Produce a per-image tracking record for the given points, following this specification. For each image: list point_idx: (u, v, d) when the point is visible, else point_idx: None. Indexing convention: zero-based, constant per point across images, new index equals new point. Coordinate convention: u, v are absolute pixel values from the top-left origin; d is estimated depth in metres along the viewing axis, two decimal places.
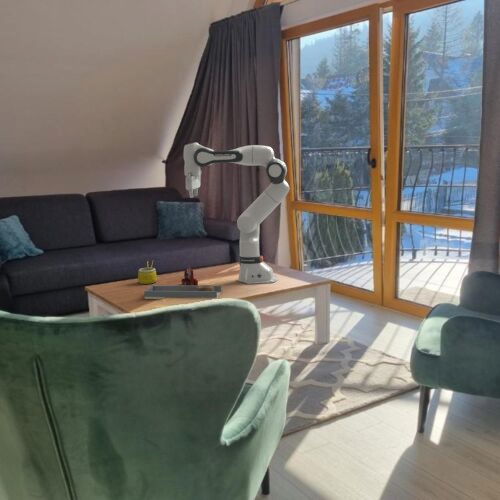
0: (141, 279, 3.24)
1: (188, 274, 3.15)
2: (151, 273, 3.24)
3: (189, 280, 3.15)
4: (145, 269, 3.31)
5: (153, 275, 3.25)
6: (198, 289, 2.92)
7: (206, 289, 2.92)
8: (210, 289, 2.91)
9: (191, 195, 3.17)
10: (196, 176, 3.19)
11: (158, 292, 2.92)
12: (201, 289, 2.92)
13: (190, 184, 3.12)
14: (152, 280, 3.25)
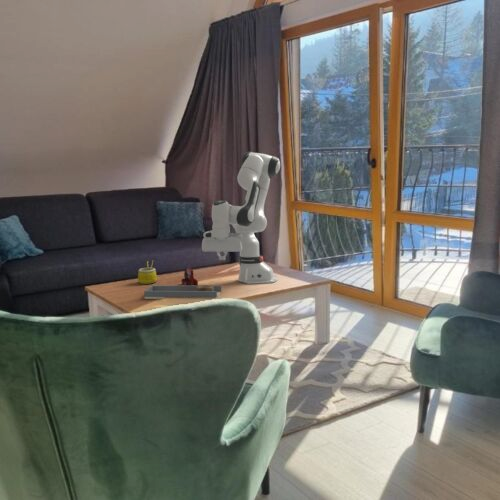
0: (141, 279, 3.24)
1: (188, 274, 3.15)
2: (151, 273, 3.24)
3: (189, 280, 3.15)
4: (145, 269, 3.31)
5: (153, 275, 3.25)
6: (198, 289, 2.92)
7: (206, 289, 2.92)
8: (210, 289, 2.91)
9: None
10: None
11: (158, 292, 2.92)
12: (201, 289, 2.92)
13: (241, 244, 2.89)
14: (152, 280, 3.25)
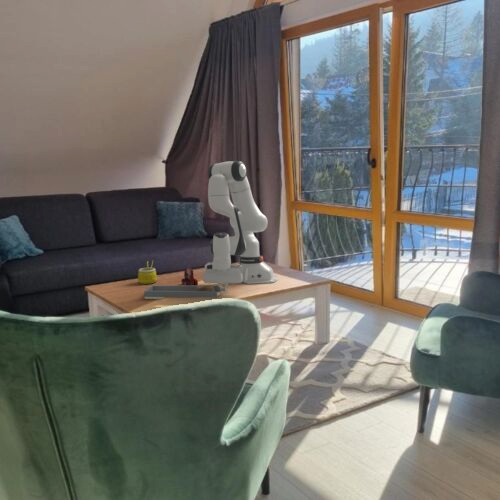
0: (141, 279, 3.24)
1: (188, 274, 3.15)
2: (151, 273, 3.24)
3: (189, 280, 3.15)
4: (145, 269, 3.31)
5: (153, 275, 3.25)
6: (198, 289, 2.92)
7: (206, 289, 2.92)
8: (210, 289, 2.91)
9: None
10: None
11: (158, 292, 2.92)
12: (201, 289, 2.92)
13: (242, 276, 2.92)
14: (152, 280, 3.25)
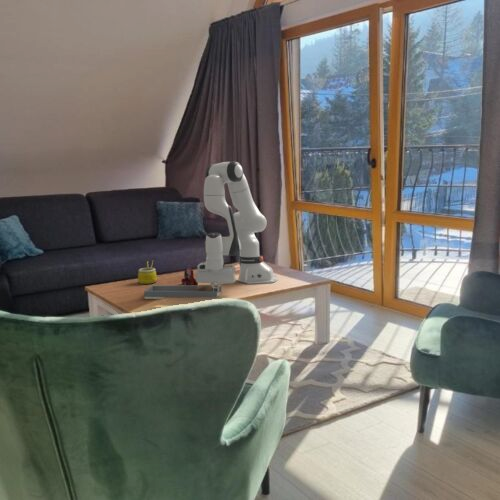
0: (141, 279, 3.24)
1: (188, 274, 3.15)
2: (151, 273, 3.24)
3: (189, 280, 3.15)
4: (145, 269, 3.31)
5: (153, 275, 3.25)
6: (198, 289, 2.92)
7: (206, 289, 2.92)
8: (210, 289, 2.91)
9: (218, 288, 2.94)
10: None
11: (158, 292, 2.92)
12: (201, 289, 2.92)
13: None
14: (152, 280, 3.25)
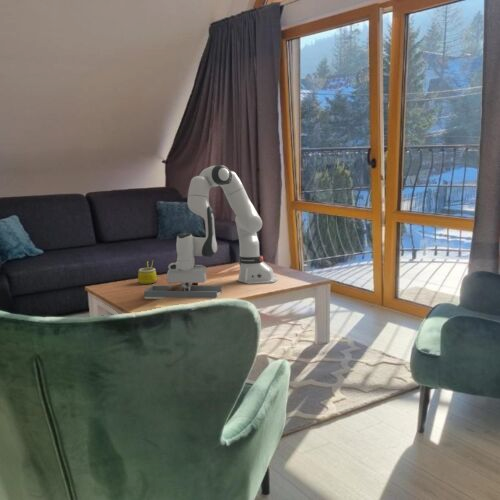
0: (141, 279, 3.24)
1: None
2: (151, 273, 3.24)
3: None
4: (145, 269, 3.31)
5: (153, 275, 3.25)
6: (169, 289, 2.94)
7: (177, 289, 2.94)
8: (181, 289, 2.94)
9: None
10: None
11: (158, 292, 2.92)
12: (172, 289, 2.94)
13: (205, 275, 2.95)
14: (152, 280, 3.25)
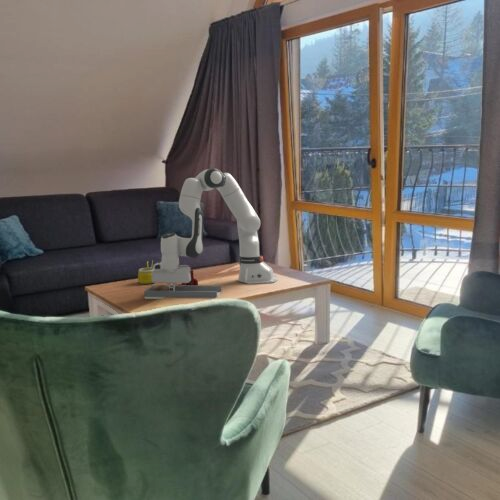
0: (141, 279, 3.24)
1: None
2: (151, 273, 3.24)
3: None
4: (145, 269, 3.31)
5: None
6: (154, 289, 2.96)
7: (161, 289, 2.95)
8: (165, 289, 2.95)
9: (174, 288, 2.97)
10: None
11: (158, 292, 2.92)
12: (157, 289, 2.96)
13: (190, 276, 2.96)
14: None
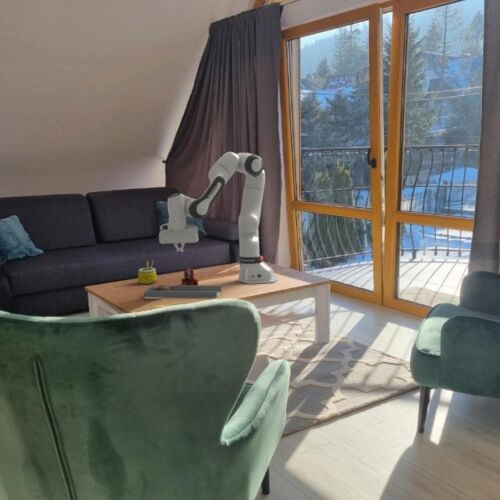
0: (141, 279, 3.24)
1: (188, 274, 3.15)
2: (151, 273, 3.24)
3: (189, 280, 3.15)
4: (145, 269, 3.31)
5: (153, 275, 3.25)
6: (154, 289, 2.96)
7: (161, 289, 2.95)
8: (165, 289, 2.95)
9: (182, 248, 2.98)
10: None
11: (158, 292, 2.92)
12: (157, 289, 2.96)
13: (197, 235, 2.96)
14: (152, 280, 3.25)
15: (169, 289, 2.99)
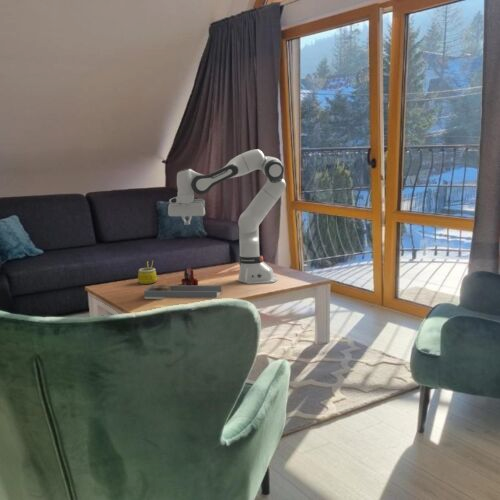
0: (141, 279, 3.24)
1: (188, 274, 3.15)
2: (151, 273, 3.24)
3: (189, 280, 3.15)
4: (145, 269, 3.31)
5: (153, 275, 3.25)
6: (154, 289, 2.96)
7: (161, 289, 2.95)
8: (165, 289, 2.95)
9: (189, 221, 3.14)
10: None
11: (158, 292, 2.92)
12: (157, 289, 2.96)
13: (204, 209, 3.12)
14: (152, 280, 3.25)
15: (169, 289, 2.99)
